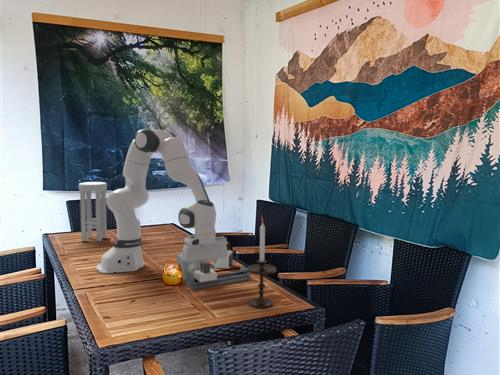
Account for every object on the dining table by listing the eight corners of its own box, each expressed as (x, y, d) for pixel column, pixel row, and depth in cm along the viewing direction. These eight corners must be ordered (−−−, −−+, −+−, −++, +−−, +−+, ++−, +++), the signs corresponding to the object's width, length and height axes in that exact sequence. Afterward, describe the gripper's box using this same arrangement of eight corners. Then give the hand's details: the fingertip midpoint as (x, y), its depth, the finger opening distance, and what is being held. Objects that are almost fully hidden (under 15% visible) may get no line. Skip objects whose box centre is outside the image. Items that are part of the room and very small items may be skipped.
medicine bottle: (229, 269, 215) (229, 244, 213) (215, 267, 216) (215, 244, 215) (232, 264, 222) (232, 241, 220) (219, 263, 223) (219, 240, 222)
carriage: (200, 282, 187) (200, 266, 186) (193, 277, 193) (193, 262, 192) (217, 279, 191) (217, 263, 190) (210, 275, 197) (210, 259, 196)
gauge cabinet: (184, 281, 195) (184, 259, 194) (176, 275, 203) (176, 254, 202) (204, 277, 201) (204, 256, 199) (196, 272, 208) (196, 251, 207)
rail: (192, 289, 185) (192, 279, 184) (185, 284, 192) (185, 274, 191) (250, 279, 199) (250, 270, 198) (241, 274, 206) (241, 265, 205)
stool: (102, 243, 262) (101, 184, 258) (76, 242, 262) (74, 184, 258) (111, 237, 277) (109, 182, 273) (86, 236, 277) (85, 181, 273)
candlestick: (254, 311, 163) (255, 218, 159) (242, 301, 173) (243, 213, 169) (280, 307, 167) (282, 216, 163) (267, 297, 177) (269, 211, 173)
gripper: (223, 234, 198) (223, 264, 199) (180, 239, 187) (180, 270, 189) (230, 237, 192) (229, 268, 194) (186, 242, 182) (186, 274, 183)
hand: (205, 269), depth 191 cm, fingers open, 6 cm apart
